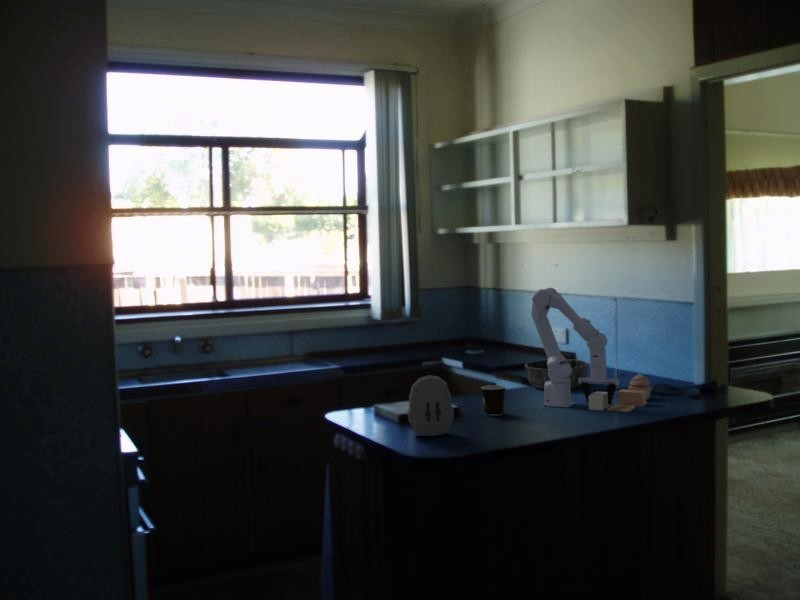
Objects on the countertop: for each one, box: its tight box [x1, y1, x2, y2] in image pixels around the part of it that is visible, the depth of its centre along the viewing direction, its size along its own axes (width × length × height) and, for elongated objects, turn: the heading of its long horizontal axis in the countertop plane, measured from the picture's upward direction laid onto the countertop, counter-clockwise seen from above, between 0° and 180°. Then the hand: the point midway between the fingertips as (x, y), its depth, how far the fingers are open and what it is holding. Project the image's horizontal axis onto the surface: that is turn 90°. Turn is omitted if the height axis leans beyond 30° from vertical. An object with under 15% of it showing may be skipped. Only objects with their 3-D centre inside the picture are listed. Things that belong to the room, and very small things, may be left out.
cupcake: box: [627, 372, 654, 401], centre depth 303 cm, size 9×9×10 cm
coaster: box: [606, 404, 637, 413], centre depth 287 cm, size 8×8×1 cm
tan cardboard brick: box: [617, 388, 647, 407], centre depth 294 cm, size 9×5×5 cm, turn 59°
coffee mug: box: [480, 384, 506, 414], centre depth 289 cm, size 12×9×10 cm
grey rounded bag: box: [407, 374, 455, 435], centre depth 259 cm, size 15×8×20 cm, turn 98°
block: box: [588, 391, 611, 411], centre depth 291 cm, size 9×5×5 cm, turn 149°
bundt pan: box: [524, 358, 589, 390], centre depth 337 cm, size 26×26×10 cm
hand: (599, 403), depth 291 cm, fingers open, 7 cm apart
